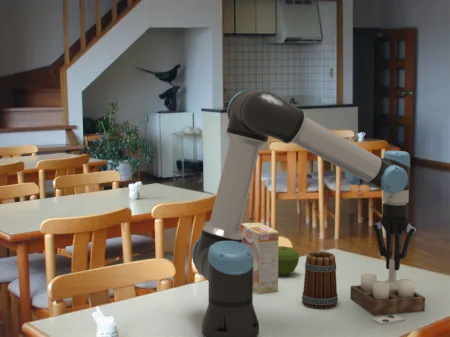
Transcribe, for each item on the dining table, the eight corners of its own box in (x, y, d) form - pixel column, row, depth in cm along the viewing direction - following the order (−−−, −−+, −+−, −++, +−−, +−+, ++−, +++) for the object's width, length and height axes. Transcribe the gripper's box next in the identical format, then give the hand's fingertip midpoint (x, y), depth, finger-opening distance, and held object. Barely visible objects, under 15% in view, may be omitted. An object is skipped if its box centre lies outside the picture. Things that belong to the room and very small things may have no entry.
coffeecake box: (239, 281, 242) (240, 223, 240) (259, 279, 245) (260, 221, 242) (257, 294, 228) (258, 232, 226) (278, 292, 231) (279, 231, 228)
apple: (263, 271, 254) (263, 243, 253) (291, 269, 257) (292, 241, 256) (274, 280, 244) (275, 250, 242) (304, 277, 247) (304, 248, 245)
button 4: (402, 300, 212) (403, 283, 212) (394, 296, 217) (395, 279, 216) (416, 299, 214) (417, 282, 213) (408, 294, 218) (409, 278, 217)
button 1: (364, 294, 218) (365, 278, 217) (357, 290, 222) (358, 274, 222) (378, 293, 219) (379, 277, 218) (371, 289, 224) (372, 273, 223)
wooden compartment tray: (373, 315, 209) (374, 301, 208) (350, 298, 224) (350, 286, 224) (424, 311, 213) (425, 297, 212) (398, 294, 228) (398, 282, 228)
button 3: (388, 300, 220) (389, 284, 220) (381, 295, 225) (382, 279, 224) (402, 299, 222) (403, 283, 221) (395, 294, 226) (396, 278, 225)
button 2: (377, 303, 210) (377, 286, 210) (370, 298, 215) (370, 281, 214) (391, 301, 211) (392, 284, 211) (384, 297, 216) (384, 280, 215)
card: (380, 324, 201) (381, 322, 201) (372, 320, 205) (372, 318, 205) (404, 320, 205) (404, 318, 204) (395, 316, 208) (395, 314, 208)
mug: (336, 310, 213) (338, 260, 211) (300, 308, 215) (301, 258, 213) (339, 294, 228) (340, 247, 226) (305, 292, 230) (306, 245, 228)
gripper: (370, 202, 219) (367, 279, 222) (413, 207, 213) (410, 286, 216) (378, 199, 226) (375, 274, 229) (420, 203, 219) (417, 280, 222)
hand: (392, 279), depth 222 cm, fingers closed
